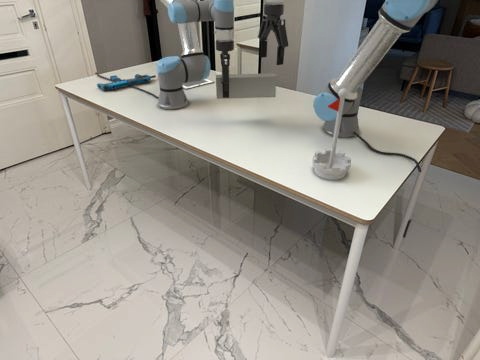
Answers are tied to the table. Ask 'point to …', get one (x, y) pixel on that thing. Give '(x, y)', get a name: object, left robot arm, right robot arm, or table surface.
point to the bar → (248, 85)
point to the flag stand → (333, 149)
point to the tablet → (196, 83)
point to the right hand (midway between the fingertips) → (271, 60)
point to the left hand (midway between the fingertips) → (225, 95)
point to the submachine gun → (124, 82)
